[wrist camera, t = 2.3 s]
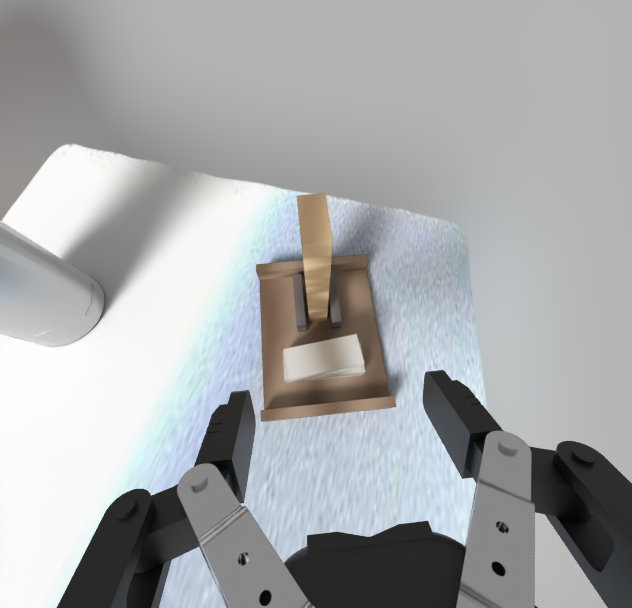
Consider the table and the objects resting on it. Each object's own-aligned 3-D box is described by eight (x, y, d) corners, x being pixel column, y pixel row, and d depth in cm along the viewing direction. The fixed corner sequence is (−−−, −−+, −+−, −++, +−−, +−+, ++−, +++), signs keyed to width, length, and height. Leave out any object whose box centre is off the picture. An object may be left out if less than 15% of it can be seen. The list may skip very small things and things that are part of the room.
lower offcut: (286, 383, 31) (284, 380, 29) (285, 355, 33) (282, 350, 30) (361, 375, 32) (365, 372, 29) (357, 348, 33) (360, 342, 30)
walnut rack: (266, 421, 31) (260, 421, 28) (260, 276, 37) (255, 262, 34) (389, 407, 31) (397, 406, 28) (363, 266, 38) (367, 252, 34)
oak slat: (309, 322, 34) (301, 245, 19) (306, 290, 35) (296, 195, 21) (327, 320, 34) (332, 242, 19) (323, 288, 35) (325, 193, 21)
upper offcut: (291, 382, 29) (288, 379, 27) (286, 354, 30) (283, 349, 28) (360, 367, 30) (364, 362, 27) (353, 340, 31) (356, 333, 28)
